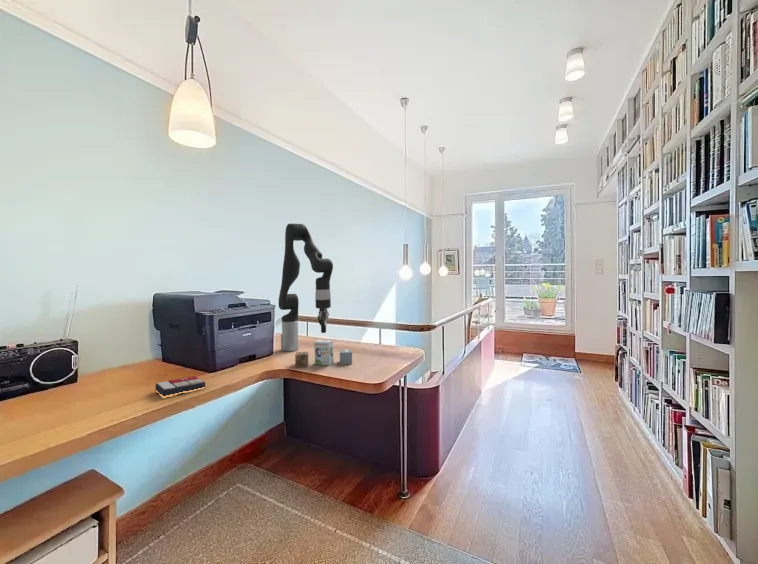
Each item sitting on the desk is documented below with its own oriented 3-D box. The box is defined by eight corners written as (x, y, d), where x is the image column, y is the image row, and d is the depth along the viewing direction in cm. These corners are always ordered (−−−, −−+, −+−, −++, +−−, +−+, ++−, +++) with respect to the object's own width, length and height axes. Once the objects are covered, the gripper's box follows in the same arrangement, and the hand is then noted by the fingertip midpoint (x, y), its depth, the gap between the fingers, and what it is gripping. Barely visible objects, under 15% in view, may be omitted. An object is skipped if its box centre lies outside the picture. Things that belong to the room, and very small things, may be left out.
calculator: (205, 380, 141) (163, 388, 130) (205, 391, 141) (163, 399, 130) (195, 375, 149) (155, 381, 138) (195, 385, 149) (155, 392, 138)
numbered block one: (295, 367, 171) (295, 354, 171) (296, 363, 177) (296, 351, 177) (308, 366, 172) (307, 354, 172) (308, 363, 178) (308, 351, 177)
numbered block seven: (340, 364, 175) (340, 352, 174) (339, 361, 181) (339, 349, 180) (352, 364, 176) (352, 351, 175) (351, 360, 181) (351, 349, 181)
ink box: (334, 363, 177) (333, 340, 177) (329, 365, 172) (329, 342, 172) (318, 361, 180) (318, 339, 179) (314, 364, 175) (313, 341, 174)
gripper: (319, 297, 182) (320, 330, 182) (311, 299, 169) (312, 335, 169) (333, 297, 181) (334, 330, 182) (327, 299, 168) (327, 335, 169)
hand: (323, 332), depth 175 cm, fingers closed
